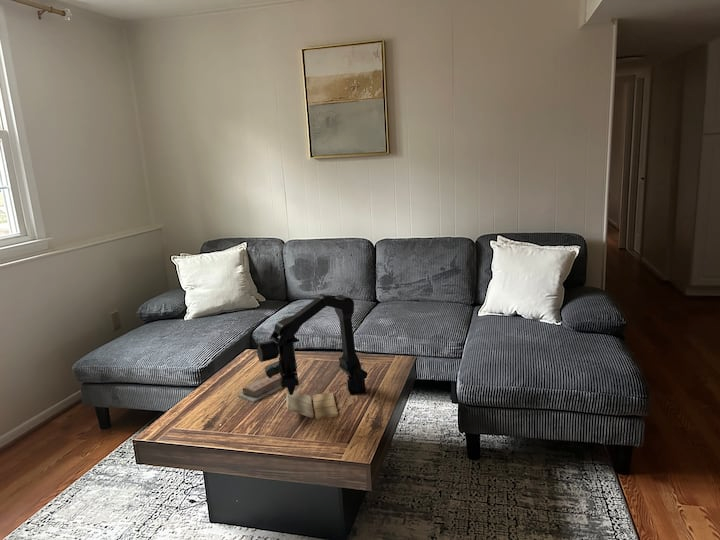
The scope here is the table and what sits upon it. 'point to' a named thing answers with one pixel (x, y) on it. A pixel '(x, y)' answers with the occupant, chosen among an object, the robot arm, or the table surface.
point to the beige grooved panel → (299, 403)
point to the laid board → (324, 406)
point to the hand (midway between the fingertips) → (291, 394)
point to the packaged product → (261, 388)
